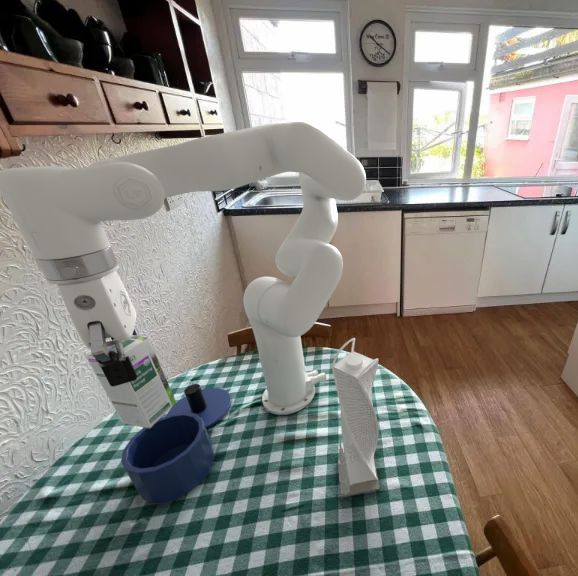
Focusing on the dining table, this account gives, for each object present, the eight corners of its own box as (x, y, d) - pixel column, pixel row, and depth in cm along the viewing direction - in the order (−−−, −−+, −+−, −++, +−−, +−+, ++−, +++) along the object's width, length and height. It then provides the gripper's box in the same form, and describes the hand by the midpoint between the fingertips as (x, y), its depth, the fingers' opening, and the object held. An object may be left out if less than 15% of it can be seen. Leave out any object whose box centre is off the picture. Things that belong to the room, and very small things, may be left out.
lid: (228, 384, 82) (221, 362, 79) (235, 419, 72) (228, 395, 68) (167, 405, 76) (157, 382, 73) (166, 447, 65) (154, 422, 62)
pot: (211, 432, 68) (201, 403, 65) (217, 480, 59) (205, 449, 55) (141, 460, 62) (126, 430, 59) (135, 518, 53) (116, 487, 49)
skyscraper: (338, 455, 63) (324, 339, 51) (377, 448, 64) (373, 333, 52) (340, 497, 55) (326, 373, 43) (385, 488, 57) (383, 365, 45)
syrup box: (150, 429, 51) (115, 358, 45) (120, 424, 52) (83, 354, 46) (177, 403, 56) (150, 336, 50) (150, 398, 57) (120, 332, 51)
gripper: (103, 278, 37) (153, 390, 45) (123, 243, 51) (158, 333, 58) (16, 294, 34) (85, 412, 41) (62, 251, 47) (108, 346, 55)
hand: (128, 366), depth 50 cm, fingers closed on syrup box, 7 cm apart
